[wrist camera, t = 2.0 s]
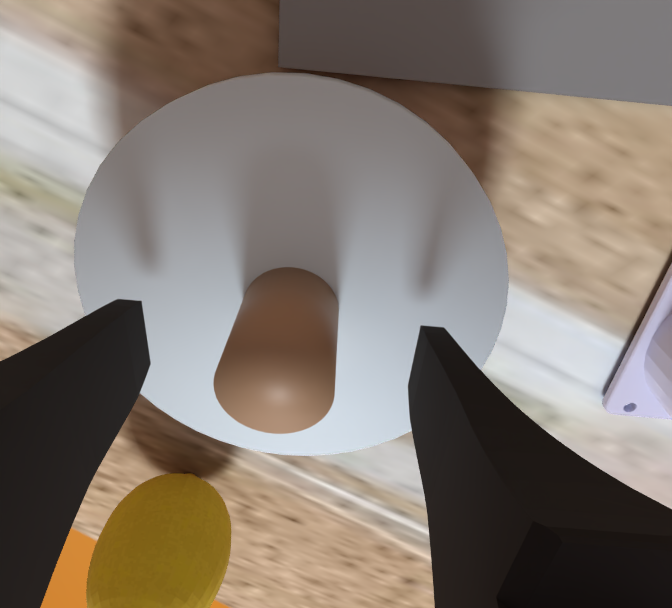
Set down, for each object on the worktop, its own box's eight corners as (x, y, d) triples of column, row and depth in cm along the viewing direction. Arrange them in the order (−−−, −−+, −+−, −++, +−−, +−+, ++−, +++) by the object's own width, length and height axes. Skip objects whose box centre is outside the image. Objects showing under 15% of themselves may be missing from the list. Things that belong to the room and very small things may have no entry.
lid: (557, 97, 12) (654, 141, 8) (450, 448, 18) (476, 564, 14) (48, 47, 12) (-103, 66, 8) (122, 419, 18) (61, 530, 14)
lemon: (112, 462, 24) (15, 643, 17) (197, 421, 22) (128, 604, 15) (186, 522, 26) (127, 702, 19) (267, 489, 25) (234, 673, 18)
